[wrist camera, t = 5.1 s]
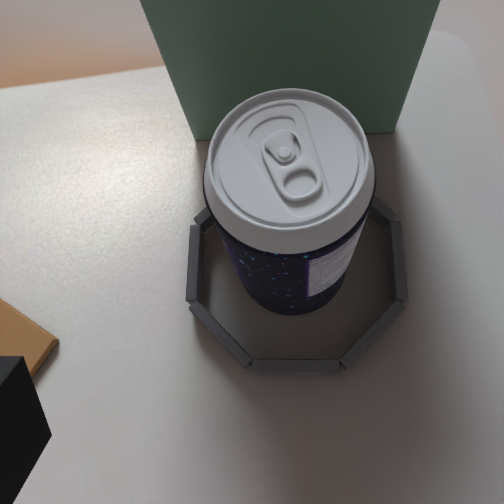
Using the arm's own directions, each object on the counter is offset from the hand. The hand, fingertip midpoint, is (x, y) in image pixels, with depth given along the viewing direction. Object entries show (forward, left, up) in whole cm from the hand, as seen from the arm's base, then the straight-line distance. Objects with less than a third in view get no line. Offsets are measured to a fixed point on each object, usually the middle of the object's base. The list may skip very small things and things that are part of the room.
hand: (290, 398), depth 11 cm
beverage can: (+4, -6, -13) cm, 14 cm away
